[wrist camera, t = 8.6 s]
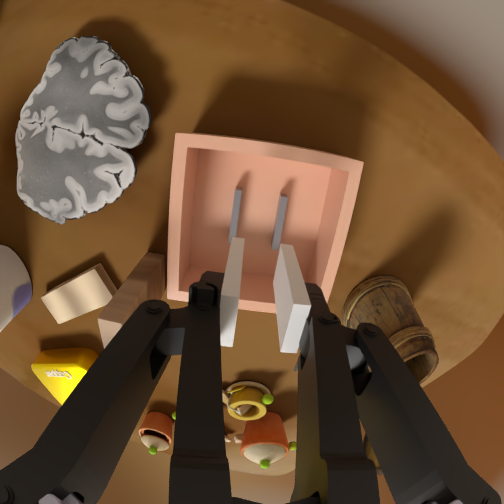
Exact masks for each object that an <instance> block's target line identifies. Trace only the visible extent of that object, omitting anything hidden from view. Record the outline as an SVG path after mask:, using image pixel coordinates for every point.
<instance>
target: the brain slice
mask: <svg viewBox="0 0 504 504" xmlns="http://www.w3.org/2000/svg"><path fill="white" fill-rule="evenodd" d="M144 95H145V93H144V88H143V86H142V84H141V82H140V81H139V79H138V78H137V77H135V76H134V75H131V72H130V69H129V67H128V65H127V64H126V62H124V61H123V60H122V59H121V58H120V57H119V56H118V54H117V53H116V52H115V51H113V50H112V47H111V45H110V44H109V43H108V42H107V41H102V40H100V39H99V38H98V37H95V36H83V37H81V38H76V37H73V38H69V39H67V40H65V41H64V42H62V43H61V44H60V45H59V46H58V47H57V48H56V49H55V50H54V52H53V53H52V56H51V58H50V60H49V62H48V64H47V67H46V70H45V72H44V75H43V77H42V79H41V81H40V83H39V84H38V85H37V86H36V88H35V89H34V90H33V92H32V93H31V95H30V96H29V98H28V100H27V101H26V102H25V104H24V106H23V108H22V110H21V113H20V120H19V122H18V127H17V130H16V135H15V143H16V153H17V159H18V172H17V193H18V196H19V198H20V199H21V200H22V201H23V202H24V204H25V205H27V206H28V207H29V208H30V209H31V210H33V211H34V212H37V213H39V214H40V215H42V216H44V217H45V218H47V219H49V220H51V221H53V222H54V221H55V222H57V223H58V224H64V223H65V222H66V219H69V220H71V219H79V218H82V217H83V216H85V215H86V213H94V212H97V211H99V210H101V209H102V208H104V207H105V206H106V204H107V203H113V202H115V201H116V200H117V199H118V198H119V197H120V196H121V195H122V194H123V191H124V189H126V188H128V187H129V186H130V185H131V184H132V182H133V181H134V179H135V177H136V173H137V167H136V163H135V160H134V157H133V156H132V155H131V154H130V153H129V152H127V150H126V149H130V148H133V147H136V146H138V145H139V144H141V143H142V141H143V139H145V137H146V132H147V129H148V128H149V127H150V124H151V112H150V109H149V107H148V106H147V104H146V103H144V102H143V98H144Z"/></svg>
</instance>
